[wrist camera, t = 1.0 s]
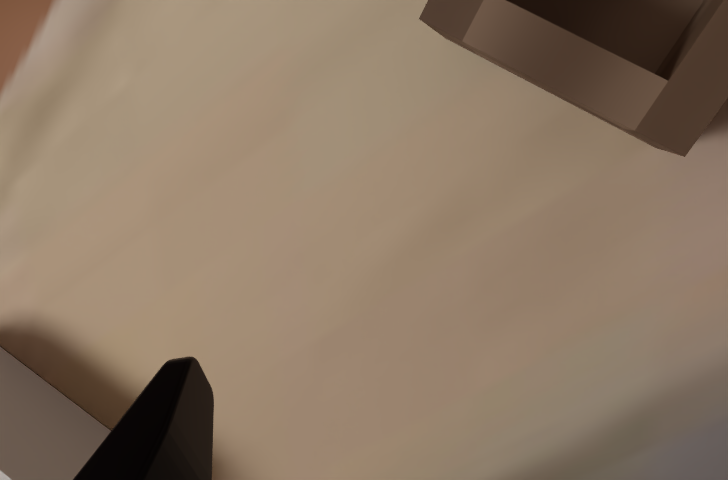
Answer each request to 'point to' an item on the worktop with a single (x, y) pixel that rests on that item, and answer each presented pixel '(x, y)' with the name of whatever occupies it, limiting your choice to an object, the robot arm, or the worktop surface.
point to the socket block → (607, 57)
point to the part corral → (41, 427)
